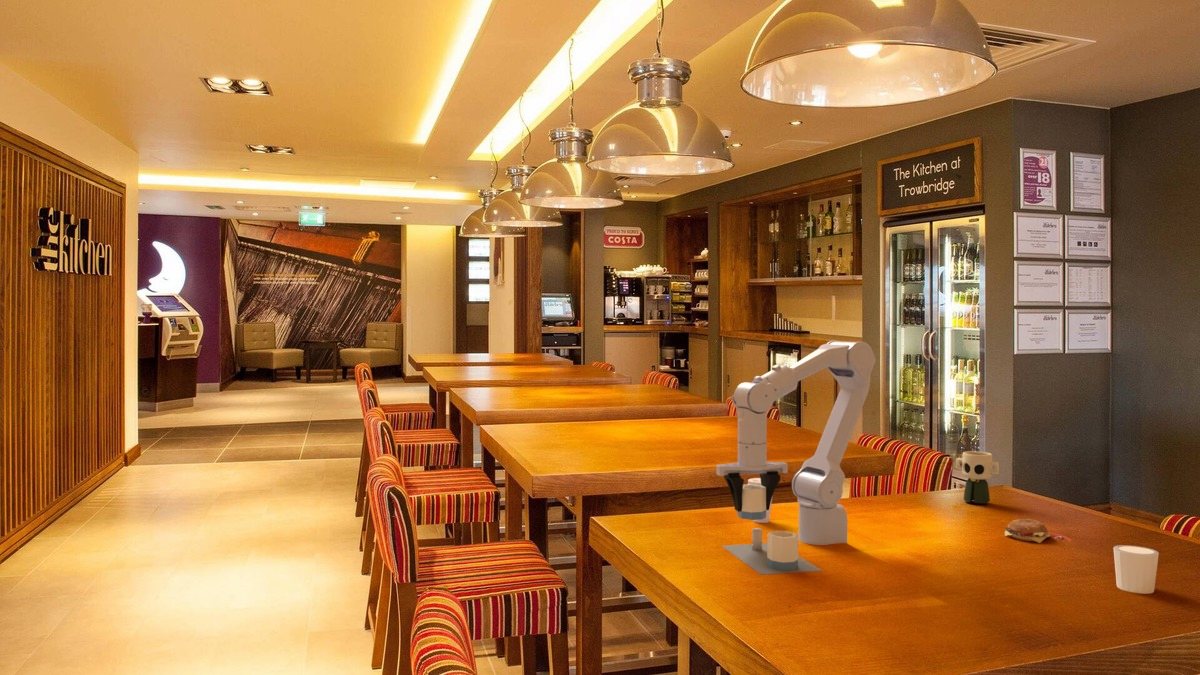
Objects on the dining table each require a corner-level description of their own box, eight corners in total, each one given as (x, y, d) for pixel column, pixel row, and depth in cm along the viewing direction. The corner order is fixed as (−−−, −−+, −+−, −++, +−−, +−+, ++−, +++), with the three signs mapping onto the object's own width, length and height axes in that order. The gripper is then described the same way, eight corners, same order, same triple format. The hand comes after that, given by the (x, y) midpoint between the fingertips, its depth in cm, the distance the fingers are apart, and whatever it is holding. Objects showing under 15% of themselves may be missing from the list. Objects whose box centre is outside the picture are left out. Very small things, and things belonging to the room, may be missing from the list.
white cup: (1158, 597, 148) (1159, 556, 148) (1112, 590, 152) (1112, 551, 152) (1157, 586, 154) (1158, 547, 154) (1113, 580, 158) (1113, 542, 158)
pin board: (776, 549, 178) (776, 523, 177) (822, 578, 158) (822, 548, 158) (721, 553, 175) (721, 526, 175) (761, 582, 155) (761, 552, 155)
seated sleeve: (789, 561, 164) (789, 530, 164) (801, 569, 159) (801, 537, 159) (763, 563, 163) (764, 531, 162) (775, 571, 158) (775, 538, 157)
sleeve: (758, 513, 176) (759, 483, 176) (769, 519, 171) (769, 489, 171) (734, 514, 175) (735, 485, 175) (744, 520, 170) (744, 490, 169)
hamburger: (1057, 551, 179) (1057, 523, 179) (989, 538, 189) (989, 511, 189) (1082, 539, 188) (1082, 512, 188) (1016, 527, 199) (1016, 502, 198)
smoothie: (775, 525, 199) (775, 464, 198) (746, 523, 200) (747, 463, 200) (775, 518, 205) (775, 460, 205) (747, 517, 206) (748, 459, 206)
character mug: (950, 501, 224) (950, 452, 224) (960, 497, 230) (961, 449, 229) (993, 508, 217) (994, 457, 217) (1003, 504, 222) (1004, 454, 222)
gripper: (777, 438, 178) (777, 503, 178) (711, 440, 175) (710, 507, 175) (792, 443, 171) (791, 511, 171) (723, 445, 168) (723, 514, 168)
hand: (751, 509), depth 173 cm, fingers closed on sleeve, 5 cm apart
